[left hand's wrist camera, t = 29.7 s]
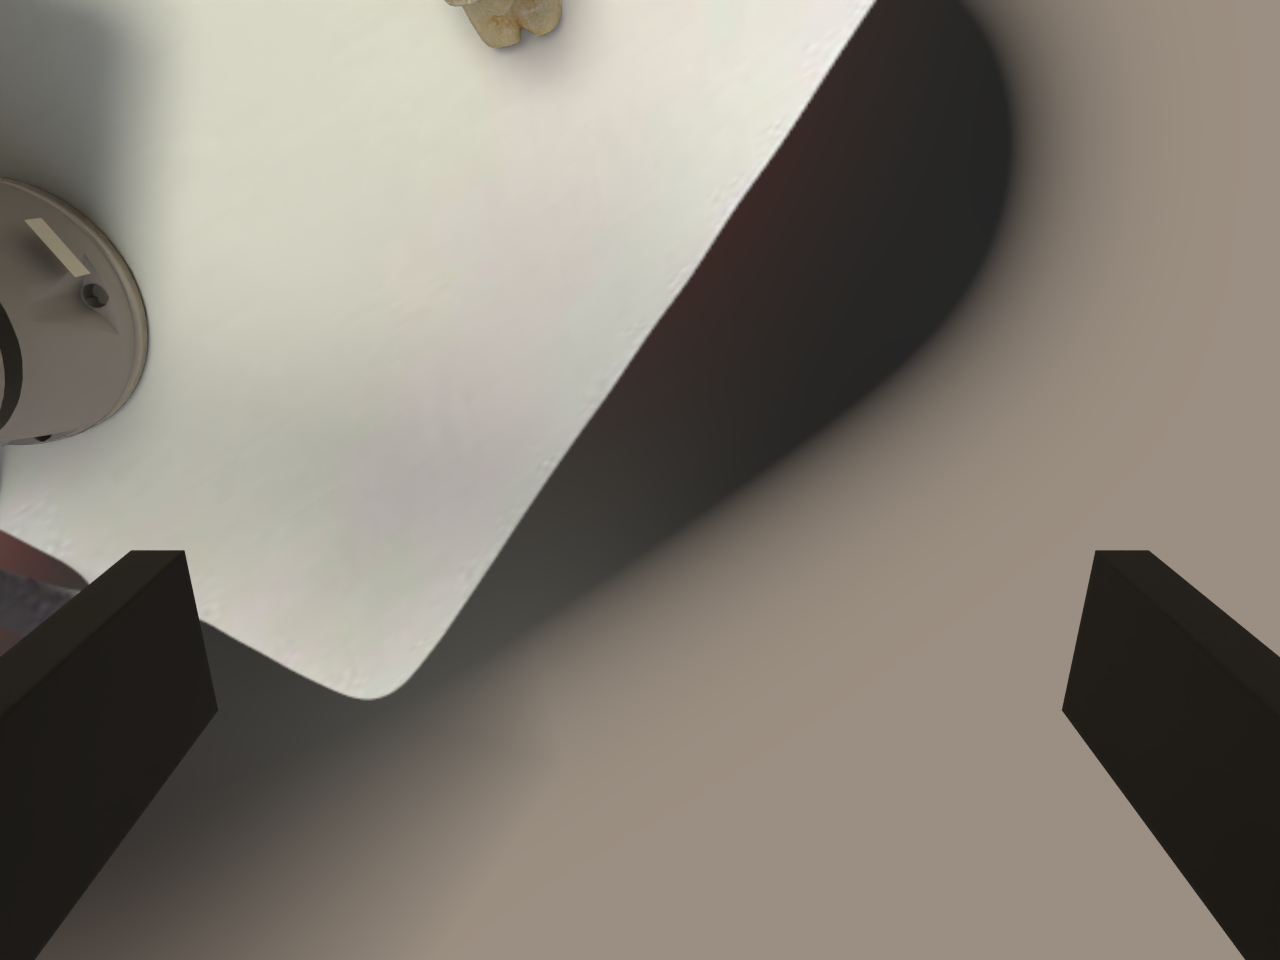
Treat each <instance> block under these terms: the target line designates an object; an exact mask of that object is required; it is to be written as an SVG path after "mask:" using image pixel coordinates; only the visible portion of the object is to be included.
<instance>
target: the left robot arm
mask: <svg viewBox="0 0 1280 960" xmlns="http://www.w3.org/2000/svg"><path fill="white" fill-rule="evenodd" d="M146 353H147V323H146V317H145V311H144V307H143V304H142V300H141V297H140V294H139V291H138V289H137V286H136V284H135V281H134V279H133V277H132V275H131V273H130V271H129V269H128V268H127V266H126V264H125V263H124V261H123V259H122V258H121V256H120V255H119V253H118V252H117V251H116V249H115V248H114V247H113V245H112V244H111V243H110V242H109V240H108V239H107V238H106V237H105V236H104V235H103V234H102V233H101V232H100V231H99V229H98V228H97V227H96V226H95V225H94V224H92V223H91V222H90V221H89V220H88V219H87V218H86V217H85V216H83V215H82V214H81V213H79V212H78V211H77V210H75V209H74V208H73V207H71V206H70V205H68V204H67V203H65V202H64V201H62V200H60V199H59V198H57V197H55V196H53V195H51V194H49V193H47V192H46V191H43V190H41V189H39V188H36V187H34V186H31V185H28V184H25V183H22V182H19V181H15V180H11V179H6V178H0V446H1V445H5V444H10V445H30V444H41V443H48V442H52V441H57V440H60V439H63V438H67V437H71V436H74V435H76V434H79V433H81V432H83V431H85V430H87V429H89V428H91V427H93V426H95V425H97V424H98V423H100V422H102V421H104V420H105V419H107V418H108V417H110V416H111V415H113V414H114V413H115V412H116V411H117V410H118V409H119V408H121V406H122V405H123V404H124V403H125V402H126V401H127V400H128V398H129V397H130V395H131V394H132V392H133V391H134V389H135V387H136V385H137V383H138V381H139V379H140V376H141V374H142V371H143V368H144V364H145V360H146ZM217 711H218V708H217V703H216V698H215V693H214V689H213V684H212V679H211V674H210V670H209V665H208V660H207V655H206V651H205V646H204V641H203V636H202V632H201V627H200V622H199V617H198V613H197V608H196V603H195V598H194V594H193V589H192V584H191V579H190V575H189V570H188V565H187V560H186V556H185V551H184V550H131V551H130V552H129V553H128V554H126V555H125V556H124V557H123V558H121V559H120V560H119V561H118V562H116V563H115V564H114V565H113V566H112V567H110V568H109V569H108V570H107V571H105V572H104V573H103V574H102V575H101V576H99V577H98V578H97V579H96V580H94V581H93V582H92V583H91V584H89V585H88V586H87V587H86V588H85V589H83V590H82V591H81V592H80V593H78V594H77V595H76V596H75V597H73V598H72V599H71V600H70V601H69V602H67V603H66V604H65V605H64V606H62V607H61V608H60V609H59V610H58V611H56V612H55V613H54V614H53V615H51V616H50V617H49V618H48V619H46V620H45V621H44V622H43V623H42V624H40V625H39V626H38V627H37V628H35V629H34V630H33V631H32V632H31V633H29V634H28V635H27V636H26V637H24V638H23V639H22V640H21V641H20V642H18V643H17V644H16V645H15V646H13V647H12V648H11V649H10V650H8V651H7V652H6V653H5V654H3V655H2V656H1V657H0V960H35V959H36V957H37V956H38V955H39V953H40V952H41V950H42V949H43V948H44V946H45V945H46V944H47V942H48V941H49V940H50V938H51V937H52V936H53V934H54V933H55V931H56V930H57V929H58V927H59V926H60V925H61V923H62V922H63V921H64V919H65V918H66V917H67V915H68V914H69V912H70V911H71V910H72V908H73V907H74V906H75V904H76V903H77V902H78V900H79V899H80V897H81V896H82V895H83V893H84V892H85V891H86V889H87V888H88V887H89V885H90V884H91V882H92V881H93V880H94V878H95V877H96V876H97V874H98V873H99V872H100V870H101V869H102V867H103V866H104V865H105V863H106V862H107V861H108V859H109V858H110V857H111V855H112V854H113V853H114V851H115V850H116V848H117V847H118V846H119V844H120V843H121V842H122V840H123V839H124V838H125V836H126V835H127V834H128V832H129V831H130V829H131V828H132V827H133V825H134V824H135V823H136V821H137V820H138V819H139V817H140V816H141V814H142V813H143V812H144V810H145V809H146V808H147V806H148V805H149V804H150V802H151V801H152V799H153V798H154V797H155V795H156V794H157V793H158V791H159V790H160V789H161V787H162V786H163V785H164V783H165V782H166V780H167V779H168V778H169V776H170V775H171V774H172V772H173V771H174V769H175V768H176V767H177V765H178V764H179V763H180V761H181V760H182V759H183V757H184V756H185V755H186V753H187V752H188V751H189V749H190V748H191V746H192V745H193V744H194V742H195V741H196V740H197V738H198V737H199V736H200V734H201V733H202V731H203V730H204V729H205V727H206V726H207V725H208V723H209V722H210V721H211V719H212V718H213V717H214V715H215V714H216V712H217ZM1062 711H1063V712H1064V714H1065V715H1066V716H1067V718H1068V719H1069V721H1070V722H1071V723H1072V725H1073V726H1074V727H1075V729H1076V730H1077V731H1078V733H1079V734H1080V735H1081V737H1082V738H1083V740H1084V741H1085V742H1086V744H1087V745H1088V746H1089V748H1090V749H1091V751H1092V752H1093V753H1094V755H1095V756H1096V757H1097V759H1098V760H1099V761H1100V763H1101V764H1102V765H1103V767H1104V768H1105V770H1106V771H1107V772H1108V774H1109V775H1110V776H1111V778H1112V779H1113V780H1114V782H1115V783H1116V785H1117V786H1118V787H1119V789H1120V790H1121V791H1122V793H1123V794H1124V795H1125V797H1126V798H1127V800H1128V801H1129V802H1130V804H1131V805H1132V806H1133V808H1134V809H1135V810H1136V812H1137V813H1138V814H1139V816H1140V817H1141V819H1142V820H1143V821H1144V823H1145V824H1146V825H1147V827H1148V828H1149V829H1150V831H1151V832H1152V833H1153V835H1154V836H1155V838H1156V839H1157V840H1158V842H1159V843H1160V844H1161V846H1162V847H1163V848H1164V850H1165V851H1166V853H1167V854H1168V855H1169V857H1170V858H1171V859H1172V861H1173V862H1174V863H1175V865H1176V866H1177V868H1178V869H1179V870H1180V872H1181V873H1182V874H1183V876H1184V877H1185V878H1186V880H1187V881H1188V882H1189V884H1190V885H1191V887H1192V888H1193V889H1194V891H1195V892H1196V893H1197V895H1198V896H1199V897H1200V899H1201V900H1202V901H1203V903H1204V904H1205V906H1206V907H1207V908H1208V910H1209V911H1210V912H1211V914H1212V915H1213V916H1214V918H1215V919H1216V921H1217V922H1218V923H1219V925H1220V926H1221V927H1222V929H1223V930H1224V931H1225V933H1226V934H1227V936H1228V937H1229V938H1230V940H1231V941H1232V942H1233V944H1234V945H1235V946H1236V948H1237V949H1238V951H1239V952H1240V953H1241V955H1242V956H1243V957H1244V959H1245V960H1280V657H1279V656H1278V655H1277V654H1275V653H1274V652H1273V651H1272V650H1270V649H1269V648H1268V647H1267V646H1265V645H1264V644H1263V643H1262V642H1260V641H1259V640H1258V639H1257V638H1256V637H1254V636H1253V635H1252V634H1251V633H1249V632H1248V631H1247V630H1246V629H1245V628H1243V627H1242V626H1241V625H1240V624H1238V623H1237V622H1236V621H1235V620H1234V619H1232V618H1231V617H1230V616H1229V615H1227V614H1226V613H1225V612H1224V611H1222V610H1221V609H1220V608H1219V607H1218V606H1216V605H1215V604H1214V603H1213V602H1211V601H1210V600H1209V599H1208V598H1206V597H1205V596H1204V595H1203V594H1202V593H1200V592H1199V591H1198V590H1197V589H1195V588H1194V587H1193V586H1192V585H1191V584H1189V583H1188V582H1187V581H1186V580H1184V579H1183V578H1182V577H1181V576H1179V575H1178V574H1177V573H1176V572H1175V571H1173V570H1172V569H1171V568H1170V567H1168V566H1167V565H1166V564H1165V563H1164V562H1162V561H1161V560H1160V559H1159V558H1157V557H1156V556H1155V555H1154V554H1152V553H1151V552H1150V551H1148V550H1096V551H1095V556H1094V560H1093V565H1092V570H1091V575H1090V579H1089V584H1088V589H1087V594H1086V599H1085V603H1084V608H1083V613H1082V617H1081V622H1080V627H1079V632H1078V636H1077V641H1076V646H1075V651H1074V655H1073V660H1072V665H1071V670H1070V674H1069V679H1068V684H1067V689H1066V693H1065V698H1064V703H1063V708H1062Z"/></svg>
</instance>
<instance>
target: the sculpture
mask: <svg viewBox="0 0 1280 960" xmlns="http://www.w3.org/2000/svg"><path fill="white" fill-rule="evenodd" d="M445 1H446V2H447V3H448V4H449V5H451V6H462V7H463V8H464V10H465V12H466V14H467V16H468V18H469V20H470V21H471V23H472V25H473V26H474V28H475V30H476V31H477V33H478V34H479V36H480V37H481V39H482V40H483V41H484V42H485V43H486V44H487V45H488V46H490V47H493V48H501V47H507V46H512V45H513V44H516V43H518V42H519V41H520V38H521V29H526V30H528V31H530V32H531V33H533V34H535V35H536V36H540V35H543V34H546V33H548V32H550V31H551V30H553V29H554V28H555V27H556V25H557V24H558V22H559V20H560V17H561V1H560V0H445Z"/></svg>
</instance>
